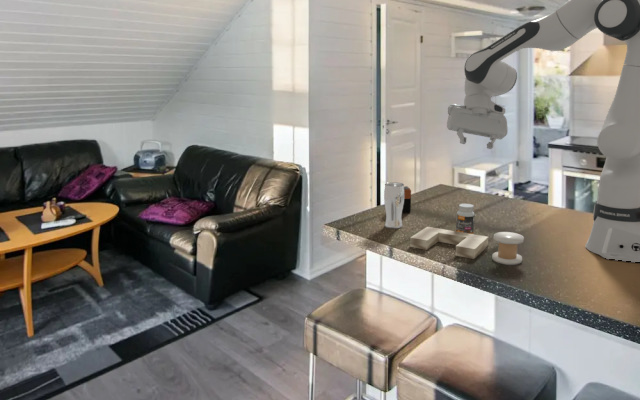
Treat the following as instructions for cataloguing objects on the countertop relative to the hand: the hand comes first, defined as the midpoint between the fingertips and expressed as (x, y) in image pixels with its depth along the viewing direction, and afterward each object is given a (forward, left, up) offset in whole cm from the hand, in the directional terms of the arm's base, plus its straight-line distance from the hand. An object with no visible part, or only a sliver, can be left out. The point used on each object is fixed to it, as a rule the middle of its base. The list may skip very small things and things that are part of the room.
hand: (476, 145), depth 167 cm
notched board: (0, +23, -28) cm, 36 cm away
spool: (-18, +25, -28) cm, 42 cm away
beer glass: (+24, +13, -28) cm, 39 cm away
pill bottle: (0, +9, -29) cm, 30 cm away
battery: (+30, -5, -29) cm, 41 cm away
